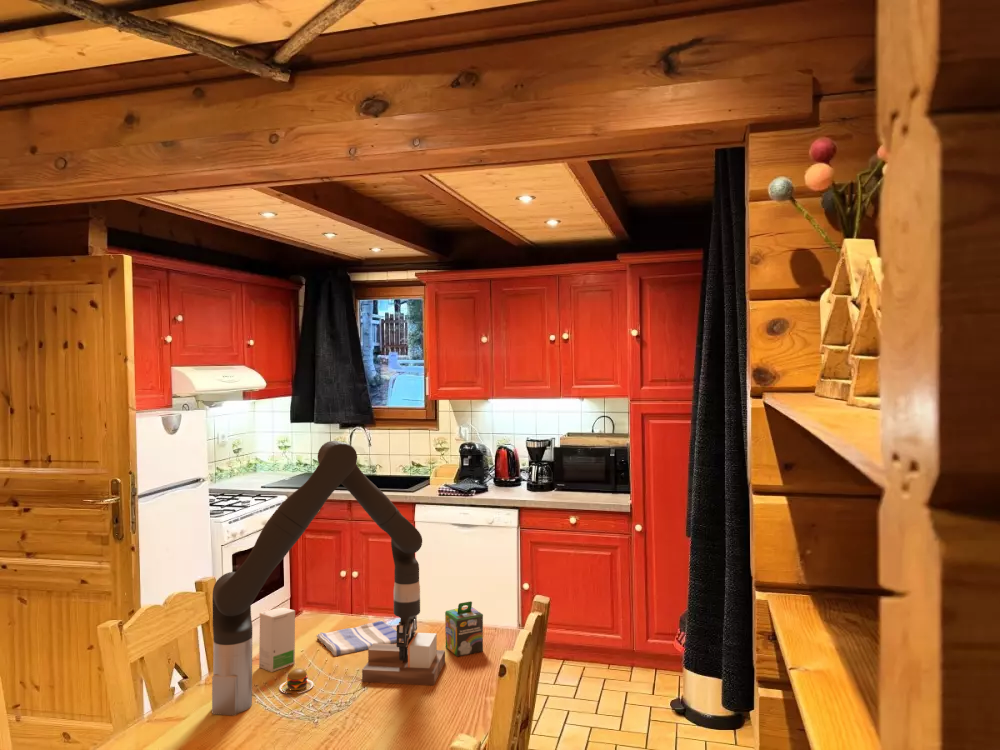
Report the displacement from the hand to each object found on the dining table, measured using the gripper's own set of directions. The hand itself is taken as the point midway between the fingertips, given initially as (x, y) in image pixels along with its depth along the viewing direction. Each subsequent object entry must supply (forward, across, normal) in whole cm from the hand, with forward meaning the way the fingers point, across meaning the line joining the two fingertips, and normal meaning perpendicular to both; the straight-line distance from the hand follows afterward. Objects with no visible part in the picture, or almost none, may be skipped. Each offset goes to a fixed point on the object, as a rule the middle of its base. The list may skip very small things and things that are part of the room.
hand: (407, 654), depth 197 cm
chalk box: (+5, +18, -14) cm, 23 cm away
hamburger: (+6, -14, +27) cm, 31 cm away
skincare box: (+5, 0, +38) cm, 39 cm away
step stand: (+5, 0, 0) cm, 5 cm away
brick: (-2, 0, -2) cm, 2 cm away
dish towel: (+6, +22, +21) cm, 30 cm away
